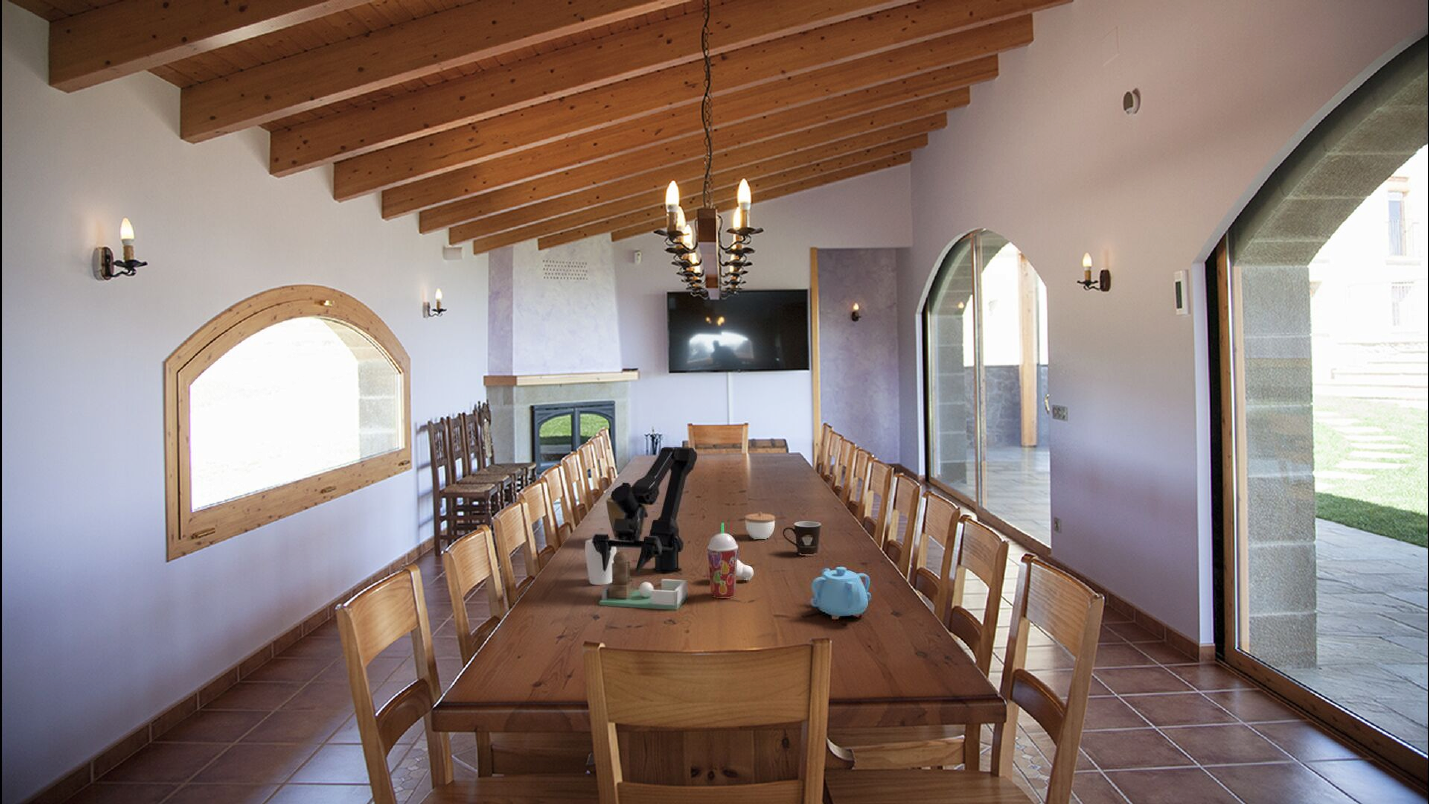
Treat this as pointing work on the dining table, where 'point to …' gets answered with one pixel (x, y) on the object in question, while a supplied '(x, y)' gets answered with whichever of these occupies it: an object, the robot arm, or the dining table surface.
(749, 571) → the penguin figurine
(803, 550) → the coffee mug
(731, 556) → the smoothie
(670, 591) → the pitch
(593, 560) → the cup
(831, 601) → the teapot
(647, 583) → the ball
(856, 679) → the dining table surface
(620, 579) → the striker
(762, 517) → the lidded jar
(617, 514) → the plant pot
